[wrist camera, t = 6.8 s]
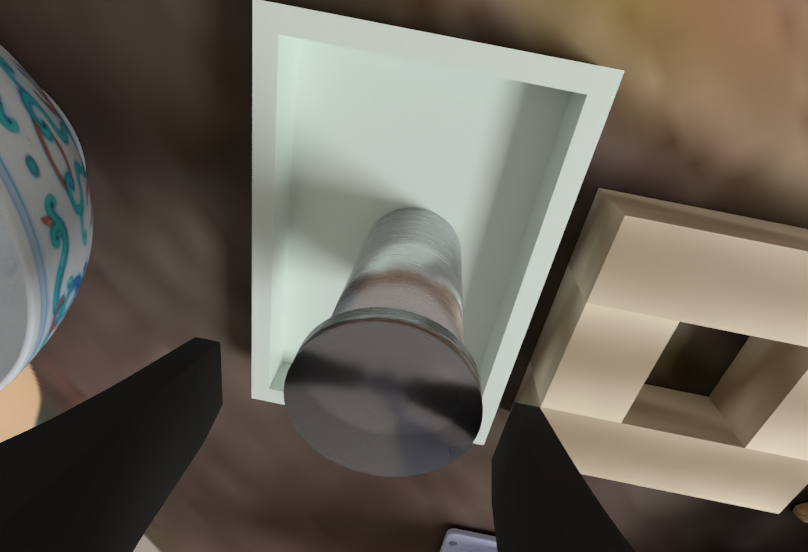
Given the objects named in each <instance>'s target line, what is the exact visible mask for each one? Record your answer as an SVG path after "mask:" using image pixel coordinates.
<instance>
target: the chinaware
mask: <svg viewBox="0 0 808 552" xmlns="http://www.w3.org/2000/svg"><path fill="white" fill-rule="evenodd" d="M92 236H93V207H92V198H91V192H90V187H89V182H88V178H87V174H86V165H85V159H84V155H83V151H82V148H81V145H80V142H79V140H78V137H77V135H76V133H75V131H74V129H73V127H72V125H71V124H70V122H69V121H68V119H67V117H66V116H65V114H64V113H63V112H62V110H61V109H60V108H59V106H58V105H57V104H56V103H55V102H54V101H53V99H52V98H51V97H50V96H49V95H48V94H47V93H46V92H45V91H44V90H43V89H42V88H40V86H39V85H38V84H37V83H36V82H35V80H34V79H33V78H32V77H31V76H30V75H29V73H28V72H27V71H26V70H25V69H24V68H23V67H22V66H21V65H20V64H19V62H18V61H17V60H16V59H15V58H14V57H13V56H12V55H11V54H10V53H9V52H8V51H7V50H6V49H5V48H4V47H2V46H1V45H0V390H1V389H2V388H4V387H5V386H6V385H8V384H9V383H10V382H11V381H12V380H13V379H14V378H15V377H16V376H17V375H18V374H19V373H20V372H21V371H22V370H23V369H24V368H25V367H26V366H27V365H28V364H29V363H30V361H31V360H32V359H33V358H34V357H35V356H36V354H37V353H38V352H39V351H40V350H41V348H42V347H43V346H44V345H45V343H46V342H47V341H48V340H49V338H50V337H51V336H52V334H53V333H54V331H55V330H56V328H57V327H58V325H59V324H60V322H61V321H62V319H63V318H64V316H65V315H66V313H67V311H68V309H69V308H70V306H71V304H72V302H73V300H74V298H75V296H76V294H77V292H78V290H79V287H80V285H81V282H82V280H83V277H84V274H85V271H86V268H87V264H88V261H89V256H90V251H91V245H92Z"/></svg>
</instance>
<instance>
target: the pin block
mask: <svg viewBox="0 0 808 552" xmlns="http://www.w3.org/2000/svg"><path fill="white" fill-rule="evenodd" d="M679 322H684V323H689V324H694V325H699V326H704V327H709V328H714V329H719V330H724V331H729V332H734V333H740V334H745V335H750V337H749V338H748V340H747V341H746V343H745V344H744V346H743V347H742V349H741V350H740V351H739V353H738V354H737V356H736V357H735V359H734V360H733V362H732V363H731V365H730V366H729V368H728V369H727V370H726V372H725V373H724V375H723V376H722V378H721V379H720V381H719V382H718V384H717V385H716V387H715V388H714V389H713V391H712V392H711V394H710V395H709V397H707V396H702V395H697V394H692V393H687V392H682V391H678V390H673V389H668V388H663V387H658V386H653V385H648V384H644V383H645V381H646V379H647V378H648V376H649V374H650V372H651V371H652V369H653V367H654V365H655V364H656V362H657V360H658V358H659V357H660V355H661V353H662V352H663V350H664V348H665V346H666V345H667V343H668V341H669V339H670V338H671V336H672V334H673V332H674V331H675V329H676V327H677V326H678V324H679ZM514 402H517V403H522V404H526V405H531V406H536V407H540V409H541V410H542V412H543V413H544V415H545V417H546V418H547V420H548V422H549V423H550V425H551V427H552V428H553V430H554V432H555V433H556V435H557V437H558V438H559V440H560V442H561V443H562V445H563V446H564V448H565V450H566V451H567V453H568V455H569V456H570V458H571V460H572V461H573V463H574V464H575V466H576V468H577V469H578V471H579V472H580V474H584V475H589V476H594V477H599V478H604V479H609V480H614V481H619V482H624V483H629V484H633V485H638V486H643V487H648V488H653V489H658V490H663V491H668V492H673V493H678V494H683V495H688V496H693V497H697V498H702V499H707V500H712V501H717V502H722V503H727V504H732V505H737V506H742V507H747V508H752V509H756V510H761V511H766V512H771V513H776V514H779V513H780V512H781V511H782V510H783V509H784V508H785V507H786V506H787V505H788V504H789V503H790V502H791V501H792V500H793V499H794V498H795V497H796V496H797V495H798V493H799V492H800V491H801V490H802V489H803V488H804V487H805V486H806V485H807V484H808V229H805V228H800V227H795V226H790V225H785V224H780V223H775V222H770V221H765V220H760V219H755V218H749V217H744V216H739V215H734V214H729V213H724V212H719V211H714V210H709V209H704V208H699V207H694V206H689V205H684V204H679V203H673V202H668V201H663V200H658V199H653V198H648V197H643V196H638V195H633V194H628V193H623V192H618V191H613V190H608V189H602V188H598V191H597V193H596V196H595V198H594V201H593V203H592V206H591V208H590V211H589V213H588V216H587V218H586V221H585V223H584V226H583V228H582V231H581V233H580V236H579V239H578V241H577V244H576V246H575V249H574V251H573V254H572V256H571V259H570V261H569V264H568V266H567V269H566V271H565V274H564V276H563V279H562V281H561V284H560V286H559V289H558V291H557V294H556V296H555V299H554V302H553V304H552V307H551V309H550V312H549V314H548V317H547V319H546V322H545V324H544V327H543V329H542V332H541V334H540V337H539V339H538V342H537V344H536V347H535V349H534V352H533V354H532V357H531V360H530V362H529V365H528V367H527V370H526V372H525V375H524V377H523V380H522V382H521V385H520V387H519V390H518V392H517V395H516V397H515V400H514ZM514 402H513V405H514ZM513 405H512V407H513ZM512 407H511V410H512ZM511 410H510V412H511Z"/></svg>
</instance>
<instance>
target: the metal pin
mask: <svg viewBox="0 0 808 552" xmlns="http://www.w3.org/2000/svg"><path fill="white" fill-rule="evenodd" d="M284 402H285V407H286V411H287V413H288V416H289V418H290V420H291V422H292V424H293V426H294V427H295V429H296V430H297V432H298V433H299V434H300V436H301V437H302V438H303V439H304V440H305V441H306V442H307V443H308V444H309V445H310V446H311V447H312V448H314V449H315V450H316V451H317V452H319V453H320V454H322V455H323V456H325V457H326V458H328V459H330V460H331V461H333V462H335V463H337V464H339V465H342V466H344V467H346V468H349V469H352V470H355V471H358V472H362V473H366V474H370V475H377V476H387V477H405V476H414V475H419V474H424V473H428V472H431V471H434V470H437V469H439V468H442V467H444V466H446V465H448V464H450V463H451V462H453V461H454V460H456V459H457V458H459V457H460V456H461V455H462V454H463V453H464V452H465V451H466V450H467V449H468V448H469V447H470V446H471V445H472V443H473V442H474V440H475V438H476V437H477V434H478V432H479V430H480V427H481V423H482V416H483V404H482V391H481V380H480V374H479V371H478V368H477V365H476V363H475V361H474V359H473V356H472V355H471V353H470V352H469V351H468V349H467V348H466V346H465V345H464V332H463V294H462V255H461V244H460V241H459V238H458V236H457V233H456V232H455V230H454V229H453V227H452V226H451V225H450V224H449V223H448V222H447V221H446V220H445V219H444V218H442V217H441V216H440V215H438V214H436V213H434V212H432V211H429V210H426V209H422V208H415V207H408V208H401V209H397V210H394V211H391V212H389V213H387V214H386V215H384V216H383V217H381V218H380V219H379V220H378V221H377V222H376V223H375V224H374V225H373V227H372V228H371V230H370V232H369V234H368V236H367V238H366V240H365V242H364V245H363V247H362V249H361V251H360V254H359V256H358V258H357V260H356V263H355V265H354V267H353V269H352V271H351V274H350V276H349V278H348V280H347V283H346V285H345V287H344V289H343V291H342V294H341V296H340V298H339V300H338V303H337V305H336V307H335V309H334V312H333V314H332V316H331V318H329V319H327V320H325V321H324V322H322V323H321V324H320V325H318V326H317V327H316V328H315V329H314V330H312V331H311V332H310V333H309V334H308V336H307V337H306V338H305V340H304V341H303V343H302V344H301V346H300V348H299V350H298V352H297V354H296V356H295V358H294V360H293V362H292V364H291V366H290V368H289V370H288V372H287V375H286V379H285V383H284Z"/></svg>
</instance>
